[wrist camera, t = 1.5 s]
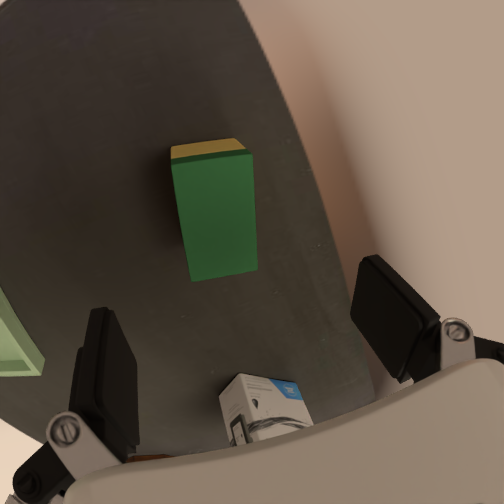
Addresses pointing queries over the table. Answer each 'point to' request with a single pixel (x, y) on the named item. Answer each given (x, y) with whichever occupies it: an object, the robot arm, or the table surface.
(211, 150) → the sponge
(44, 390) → the table surface
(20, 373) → the tray
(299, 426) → the ink box
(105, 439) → the robot arm
